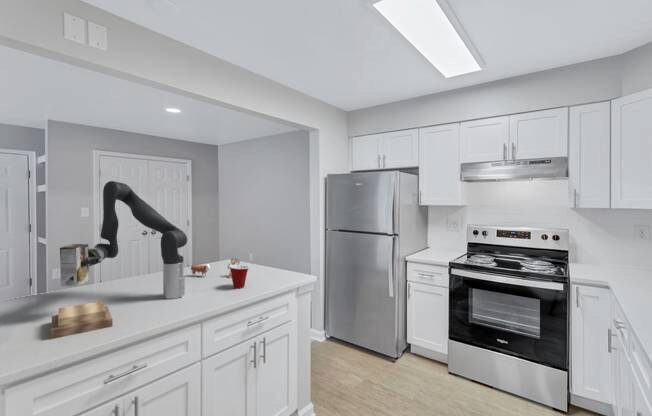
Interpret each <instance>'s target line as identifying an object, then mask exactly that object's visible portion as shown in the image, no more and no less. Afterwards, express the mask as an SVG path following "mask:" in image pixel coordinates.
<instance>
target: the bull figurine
mask: <svg viewBox="0 0 652 416" xmlns="http://www.w3.org/2000/svg"><path fill="white" fill-rule="evenodd" d="M190 270H191V274H192V275H193V276H194V277H195V278H197V275H196V272H197V273H198V274H200V273H201V277H202V278H204V276H205V277H208V275H207V272H208V270H211V264H209V263H208V264H198V265H197V264H192V265H191V267H190ZM204 274H205V275H204Z"/></svg>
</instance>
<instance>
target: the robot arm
mask: <svg viewBox="0 0 652 416" xmlns="http://www.w3.org/2000/svg"><path fill="white" fill-rule="evenodd" d="M117 201H121V202H122V203H123V204H125V206H127V207H128V208H129V209H130V211H131V215H132V216H133V217H134V218H135V220H137V221H138V222H139V223H140V224H141V225H143V226H145V227H147V228H149V229H151V230H153V231H155V232H157V233H158V232H159V233H160V234H162V235H161V238H160V254H161V258H162V262H163V263H162V275H163V276H162V278H163V279H162V285H163V286H162V290H163V291H162V297H163V299H167V300H172V299H179V298H182V297H183V296H184V295H185V294H186V293H185V290H186V288H185V287H186V285H185V284H186V283H185V282H186V281H185V278H186V277H185V275H184V256H183V255H182V254H179V249H180V248H182V247H184V246H186V245H187V243H188V237H187V235H186V233H185V232H184V231H183V230H181V229H180V228H178V227H177V226H176V225H174V224H172V223H171V222H170V221H169V220H168V219H166V217H164V216H163V215H162V214H160V213H159V212H158V211H157V210H155V208H153V207H152V206H151V205H150V204H148V203H147V202H146V201H144V200H143V199H142V198H141V197H139V195H138V194H136V193H135V191H133V189H132V188H131V187H130V186H129V185H128V184H126V183H123V182H121V181H120V182H119V181H115V180H110V181H108V182H106V183H105V184H104V186H103V189H102V208H103V209H102V210H103V213H102V215H103V216H102V224H101V229H100V238H101V239H103V240H106V241H108V242H109V243H100V242H99V243H97V244H96V245H95V246H94V247H91V248H89V258H88V259H87V260H84V261H82V262H81V266H82V267H84V266H86V265H89V267H91V266H95V265H97V264H100V263H102V261H103V260H105V259H114V258H116V257H117V256H118V254H119V245H118V230H119V218H118V215H117V212H116V202H117Z"/></svg>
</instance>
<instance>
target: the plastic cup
mask: <svg viewBox="0 0 652 416" xmlns="http://www.w3.org/2000/svg"><path fill="white" fill-rule="evenodd" d="M229 267H230V268H229V271H231V274H230V275H232V278H231V281H232V286H233V288H234V289H243V288H245V285H246V280H247V274H248V271H249V269H250V266H248V265H243V264H238V265H237V264H235V265H232V264H230V265H229Z"/></svg>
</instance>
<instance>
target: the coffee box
mask: <svg viewBox="0 0 652 416" xmlns="http://www.w3.org/2000/svg"><path fill="white" fill-rule="evenodd" d="M89 249H90V247H89V244H88V243H84V244H83V243H72V244H68V245H65V246H62V247H61V246H60V247H59V264H60V265H59V267H60V268H59V270H60V271H59V272H60V287H78V286H80V285H82V284H83V283H86V282H88V281H90V266H89V265H86V266H84V267H82V266H81V262H82V261H84V260H87V259H88V258H89Z"/></svg>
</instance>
